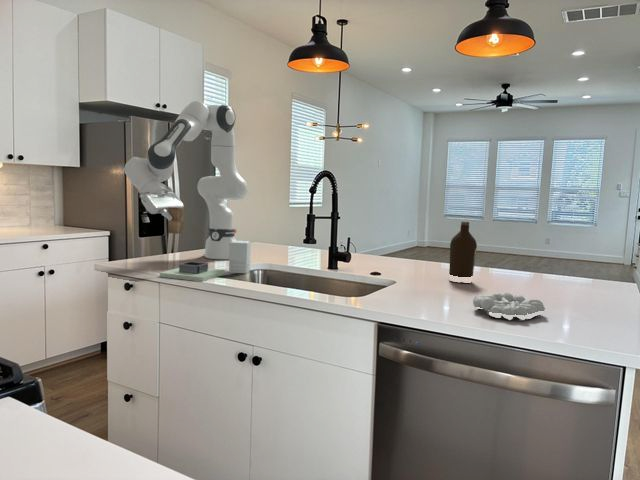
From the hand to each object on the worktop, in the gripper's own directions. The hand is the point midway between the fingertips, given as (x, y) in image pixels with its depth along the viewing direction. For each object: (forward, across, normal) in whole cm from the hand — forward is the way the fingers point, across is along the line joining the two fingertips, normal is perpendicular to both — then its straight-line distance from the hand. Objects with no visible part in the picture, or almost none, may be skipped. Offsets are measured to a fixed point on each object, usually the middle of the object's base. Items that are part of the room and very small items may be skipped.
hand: (175, 219), depth 193 cm
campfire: (+102, -6, -72) cm, 125 cm away
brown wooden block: (+4, 0, +4) cm, 5 cm away
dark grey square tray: (+20, -1, +8) cm, 21 cm away
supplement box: (+30, +16, +1) cm, 33 cm away
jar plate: (+21, -1, +9) cm, 23 cm away
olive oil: (+92, +44, -61) cm, 119 cm away
